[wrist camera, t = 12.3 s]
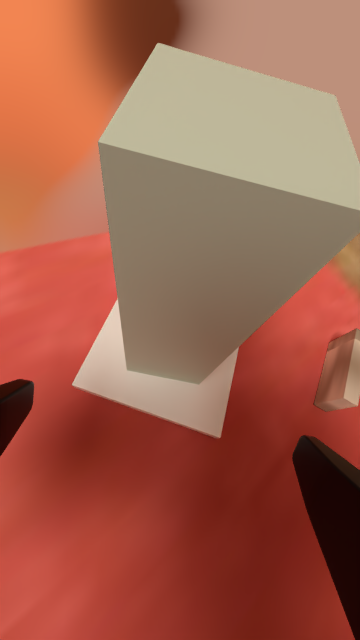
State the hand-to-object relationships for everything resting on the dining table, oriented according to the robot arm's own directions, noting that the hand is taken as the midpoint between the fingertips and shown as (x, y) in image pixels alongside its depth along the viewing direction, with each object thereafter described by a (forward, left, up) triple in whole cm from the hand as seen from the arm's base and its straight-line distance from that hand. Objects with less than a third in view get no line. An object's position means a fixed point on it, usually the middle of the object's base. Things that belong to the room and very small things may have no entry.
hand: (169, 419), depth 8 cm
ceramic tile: (+6, +1, -9) cm, 11 cm away
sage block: (+6, +1, -8) cm, 10 cm away
